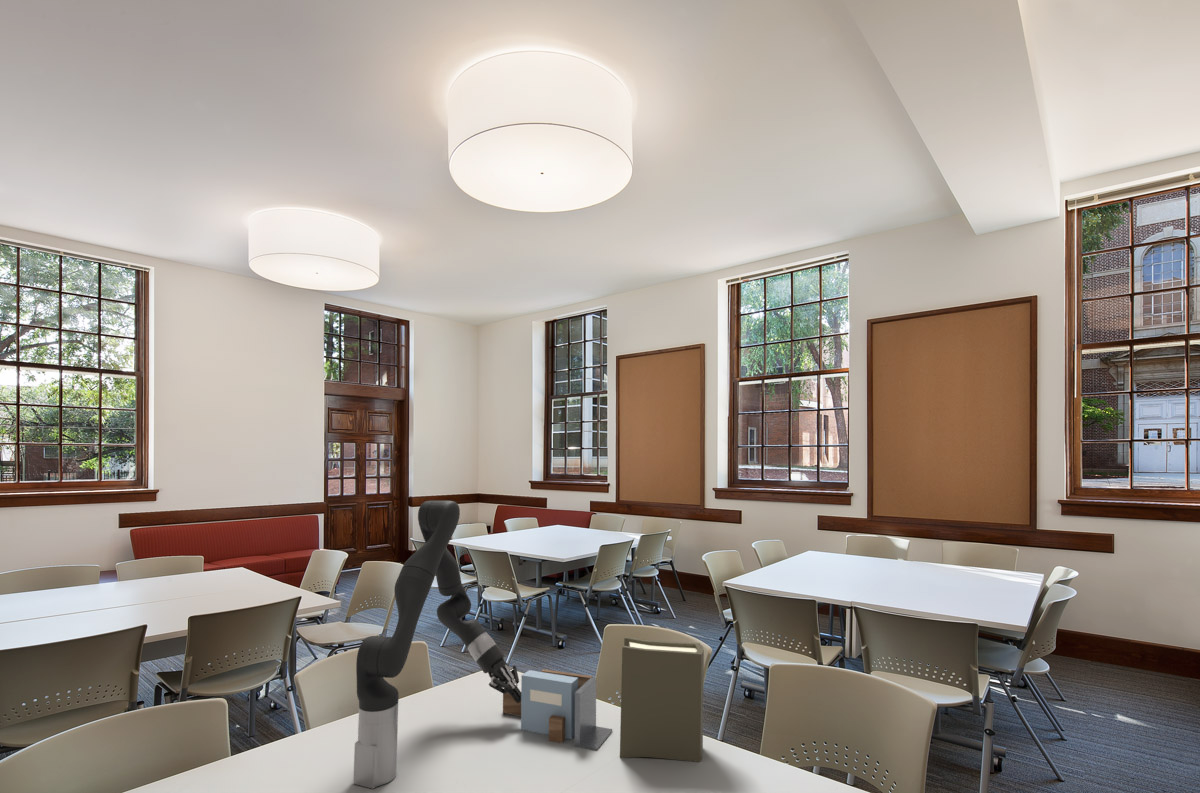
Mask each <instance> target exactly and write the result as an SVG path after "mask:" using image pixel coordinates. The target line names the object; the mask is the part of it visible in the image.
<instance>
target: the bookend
mask: <svg viewBox="0 0 1200 793" xmlns="http://www.w3.org/2000/svg"><path fill="white" fill-rule="evenodd" d="M612 733H613V728H608V727H604V726H603V727H602V726H597V678H596V677H593V678H592V677H591V678H590V679H589V680H588V681H587V682H586V683H585V684H584V685H583V686H581V687H580V688H579V689H578V690H577V691H576V692H575V736H574V747H575V748H576V747H577V748H581V749H582V748H583V749H586V750H587V749H588V750H592V751H598V750H599V749H600V748H601V746H602V745H603V744H604V743H605V741H606V740H607V739H608V737H609V736H610V735H611V734H612Z"/></svg>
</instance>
